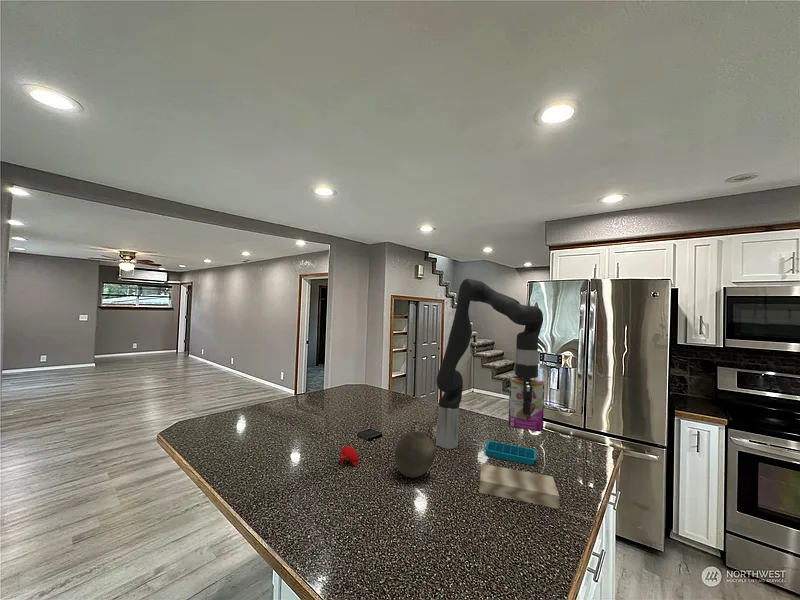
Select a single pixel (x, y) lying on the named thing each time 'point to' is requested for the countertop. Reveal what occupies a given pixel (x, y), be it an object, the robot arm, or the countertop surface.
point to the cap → (349, 455)
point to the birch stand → (519, 486)
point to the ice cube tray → (511, 452)
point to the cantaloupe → (414, 454)
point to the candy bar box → (516, 406)
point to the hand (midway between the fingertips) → (525, 411)
